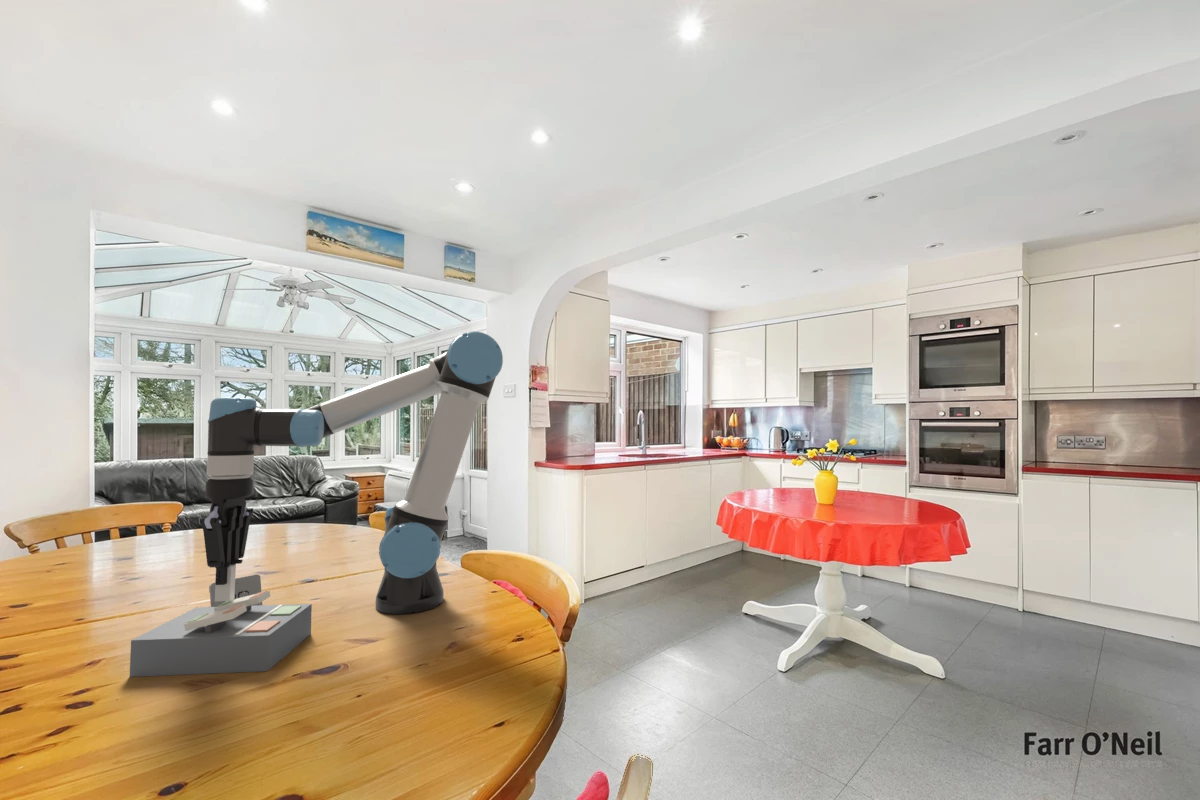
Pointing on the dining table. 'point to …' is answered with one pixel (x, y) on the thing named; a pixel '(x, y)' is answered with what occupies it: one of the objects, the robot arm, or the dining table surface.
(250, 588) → the electrical switch
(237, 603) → the rocker
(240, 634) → the console
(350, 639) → the dining table surface
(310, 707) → the dining table surface
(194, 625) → the rocker
